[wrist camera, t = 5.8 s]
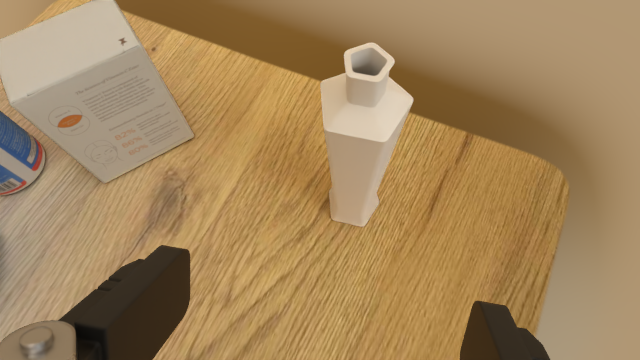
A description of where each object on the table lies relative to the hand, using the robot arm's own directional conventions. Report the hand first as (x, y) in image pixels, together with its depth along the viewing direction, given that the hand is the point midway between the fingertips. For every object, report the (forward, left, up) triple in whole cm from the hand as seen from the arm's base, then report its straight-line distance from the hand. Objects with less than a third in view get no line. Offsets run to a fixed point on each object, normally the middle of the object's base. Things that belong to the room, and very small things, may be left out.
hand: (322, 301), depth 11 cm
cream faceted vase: (-3, -9, -17) cm, 19 cm away
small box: (+13, -18, -17) cm, 28 cm away
